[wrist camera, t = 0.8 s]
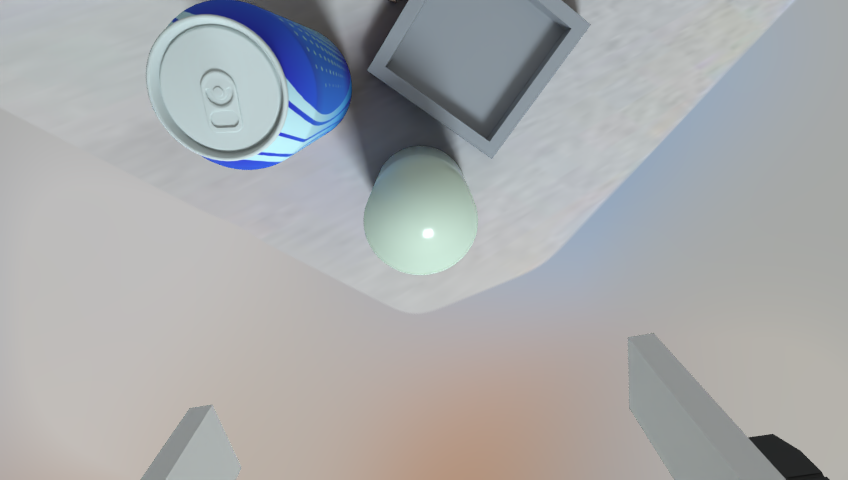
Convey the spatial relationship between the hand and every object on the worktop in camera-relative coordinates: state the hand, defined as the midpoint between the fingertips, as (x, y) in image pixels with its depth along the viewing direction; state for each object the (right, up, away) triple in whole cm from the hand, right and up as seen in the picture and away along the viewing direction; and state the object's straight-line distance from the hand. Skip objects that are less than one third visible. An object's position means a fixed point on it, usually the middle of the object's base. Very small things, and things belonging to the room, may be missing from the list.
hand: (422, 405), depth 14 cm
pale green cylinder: (0, +10, +25) cm, 27 cm away
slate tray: (+4, +20, +21) cm, 29 cm away
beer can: (-10, +18, +22) cm, 30 cm away
